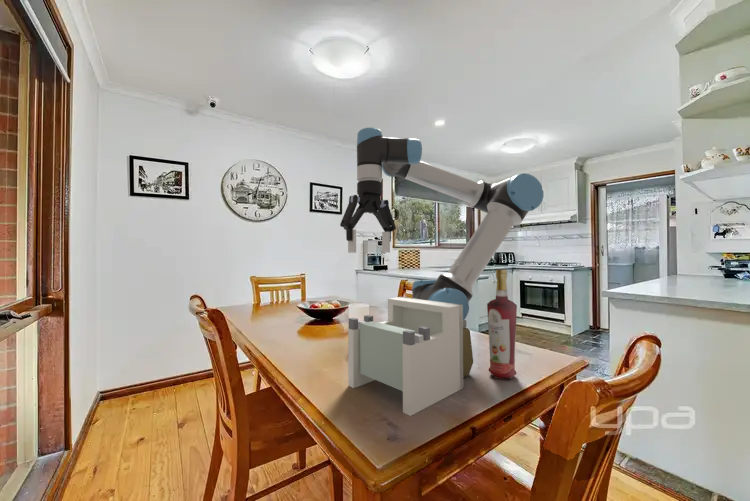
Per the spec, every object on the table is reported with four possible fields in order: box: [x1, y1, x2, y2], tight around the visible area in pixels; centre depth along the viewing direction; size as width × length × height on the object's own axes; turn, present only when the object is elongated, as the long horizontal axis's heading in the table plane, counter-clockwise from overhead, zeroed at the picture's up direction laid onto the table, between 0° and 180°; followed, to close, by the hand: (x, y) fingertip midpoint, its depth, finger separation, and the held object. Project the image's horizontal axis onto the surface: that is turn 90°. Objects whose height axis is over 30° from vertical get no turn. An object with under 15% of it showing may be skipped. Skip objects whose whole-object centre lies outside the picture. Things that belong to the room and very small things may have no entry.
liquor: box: [486, 269, 518, 380], centre depth 84 cm, size 7×7×28 cm
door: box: [358, 320, 423, 392], centre depth 73 cm, size 4×20×12 cm, turn 43°
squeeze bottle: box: [463, 319, 474, 378], centre depth 86 cm, size 8×8×18 cm
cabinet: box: [347, 296, 464, 417], centre depth 77 cm, size 19×20×20 cm
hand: (369, 252), depth 95 cm, fingers open, 13 cm apart
